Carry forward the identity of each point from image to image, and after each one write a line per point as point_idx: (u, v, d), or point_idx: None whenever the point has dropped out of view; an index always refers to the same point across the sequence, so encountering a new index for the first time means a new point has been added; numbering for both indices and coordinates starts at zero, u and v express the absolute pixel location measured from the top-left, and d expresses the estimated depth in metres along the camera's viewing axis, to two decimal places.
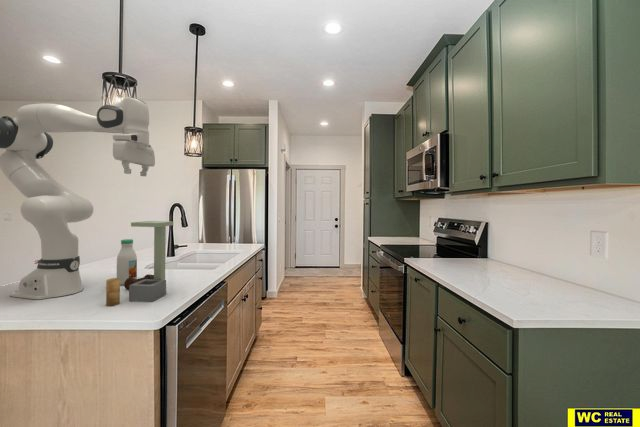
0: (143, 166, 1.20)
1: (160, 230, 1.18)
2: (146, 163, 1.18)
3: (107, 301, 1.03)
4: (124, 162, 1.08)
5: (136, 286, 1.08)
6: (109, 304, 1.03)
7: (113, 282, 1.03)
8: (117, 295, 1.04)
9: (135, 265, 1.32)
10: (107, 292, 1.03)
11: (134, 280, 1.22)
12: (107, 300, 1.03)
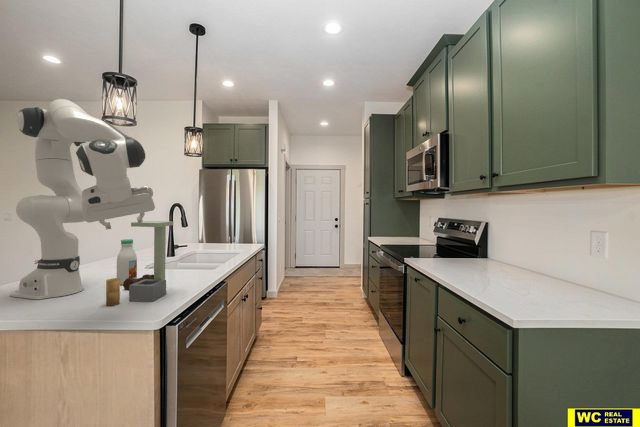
0: None
1: (160, 230, 1.18)
2: (135, 212, 1.00)
3: (107, 301, 1.03)
4: None
5: (136, 286, 1.08)
6: (109, 304, 1.03)
7: (113, 282, 1.03)
8: (117, 295, 1.04)
9: (135, 265, 1.32)
10: (107, 292, 1.03)
11: (133, 280, 1.22)
12: (107, 300, 1.03)
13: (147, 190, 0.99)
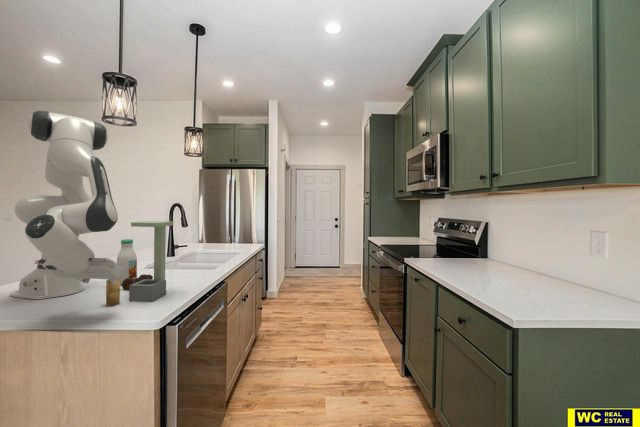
0: None
1: (160, 230, 1.18)
2: (100, 278, 0.94)
3: (107, 301, 1.03)
4: None
5: (136, 286, 1.08)
6: (109, 304, 1.03)
7: None
8: (117, 295, 1.04)
9: (135, 265, 1.32)
10: (107, 292, 1.03)
11: (133, 280, 1.22)
12: (107, 300, 1.03)
13: (105, 262, 0.90)
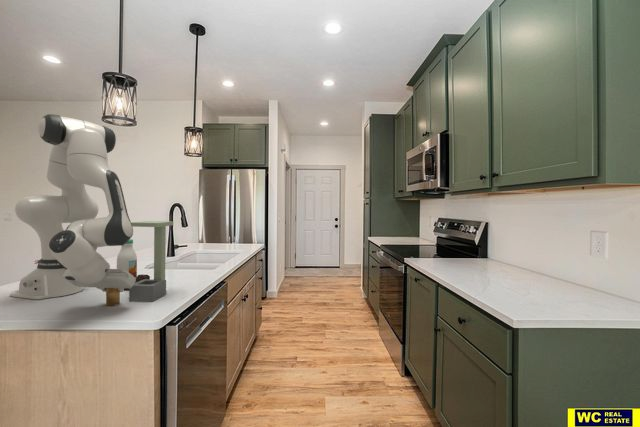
0: None
1: (160, 230, 1.18)
2: (114, 287, 1.00)
3: (107, 301, 1.03)
4: None
5: (136, 286, 1.08)
6: (109, 304, 1.03)
7: None
8: (117, 295, 1.04)
9: (135, 265, 1.32)
10: (107, 292, 1.03)
11: None
12: (107, 300, 1.03)
13: (120, 273, 0.96)
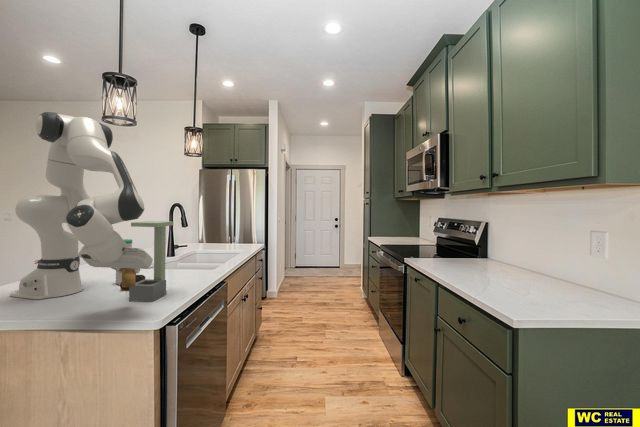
0: None
1: (160, 230, 1.18)
2: (131, 267, 0.97)
3: (123, 282, 1.00)
4: None
5: (136, 286, 1.08)
6: (124, 285, 1.00)
7: None
8: (133, 276, 1.01)
9: None
10: (123, 273, 1.00)
11: None
12: (123, 281, 1.00)
13: (138, 252, 0.93)
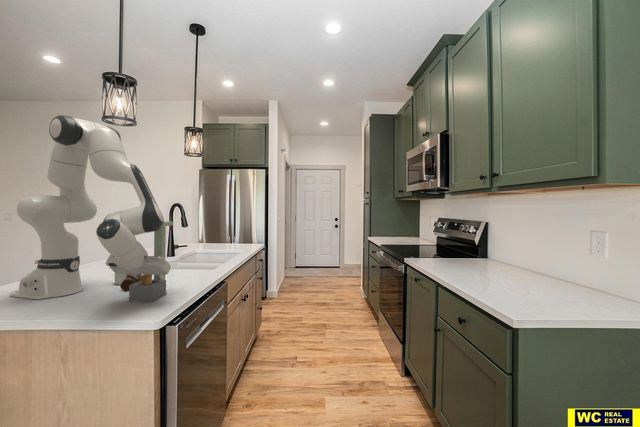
0: None
1: (160, 230, 1.18)
2: (152, 274, 1.07)
3: None
4: None
5: (136, 286, 1.08)
6: None
7: (146, 277, 1.10)
8: None
9: None
10: None
11: (133, 280, 1.22)
12: None
13: (158, 260, 1.03)
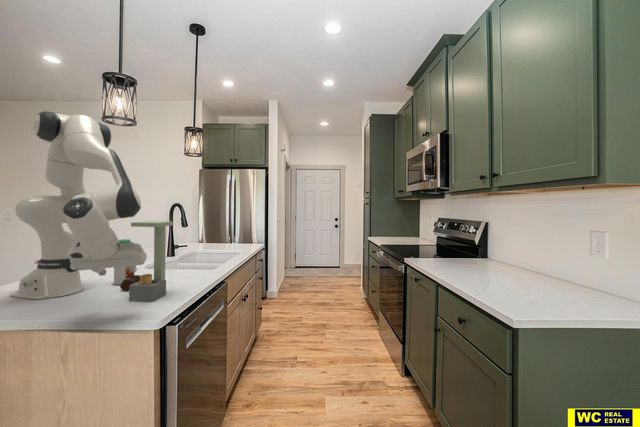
0: None
1: (160, 230, 1.18)
2: (124, 265, 0.95)
3: None
4: None
5: (136, 286, 1.08)
6: None
7: (146, 277, 1.10)
8: None
9: None
10: None
11: (133, 280, 1.21)
12: None
13: (134, 246, 0.92)
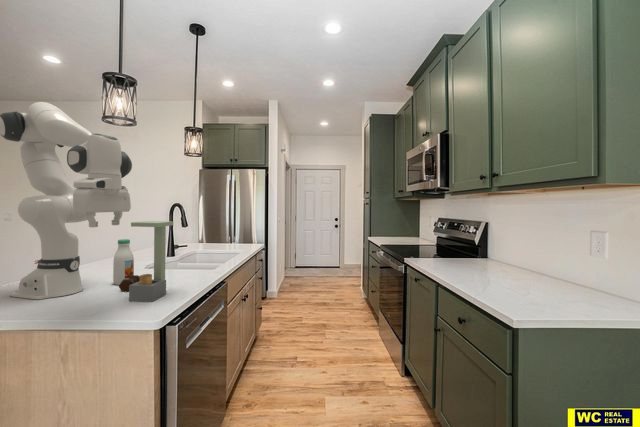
0: (115, 213, 1.00)
1: (160, 230, 1.18)
2: (118, 210, 0.99)
3: None
4: (88, 214, 0.88)
5: (136, 286, 1.08)
6: None
7: (146, 277, 1.10)
8: None
9: (131, 265, 1.32)
10: None
11: (132, 281, 1.21)
12: None
13: (125, 190, 1.04)
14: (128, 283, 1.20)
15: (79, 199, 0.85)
